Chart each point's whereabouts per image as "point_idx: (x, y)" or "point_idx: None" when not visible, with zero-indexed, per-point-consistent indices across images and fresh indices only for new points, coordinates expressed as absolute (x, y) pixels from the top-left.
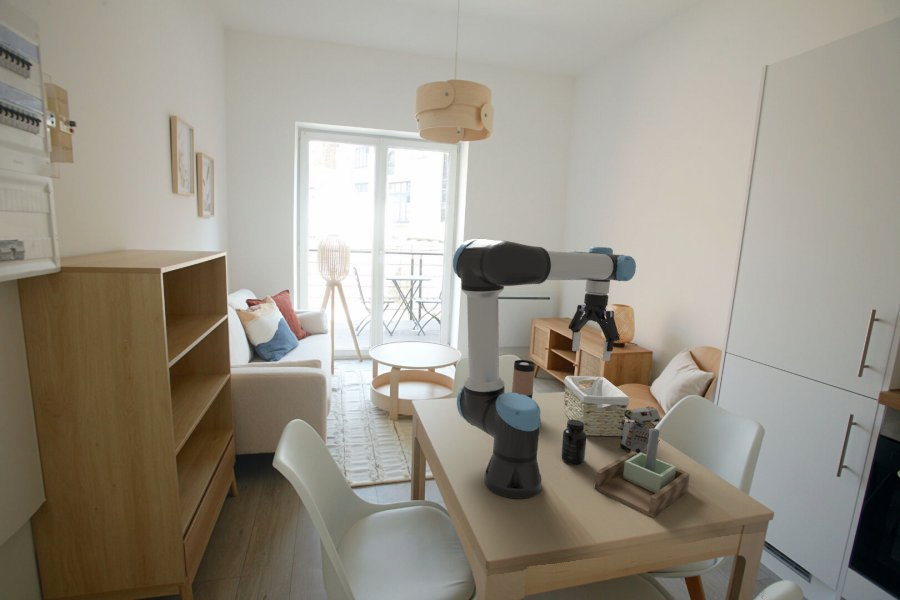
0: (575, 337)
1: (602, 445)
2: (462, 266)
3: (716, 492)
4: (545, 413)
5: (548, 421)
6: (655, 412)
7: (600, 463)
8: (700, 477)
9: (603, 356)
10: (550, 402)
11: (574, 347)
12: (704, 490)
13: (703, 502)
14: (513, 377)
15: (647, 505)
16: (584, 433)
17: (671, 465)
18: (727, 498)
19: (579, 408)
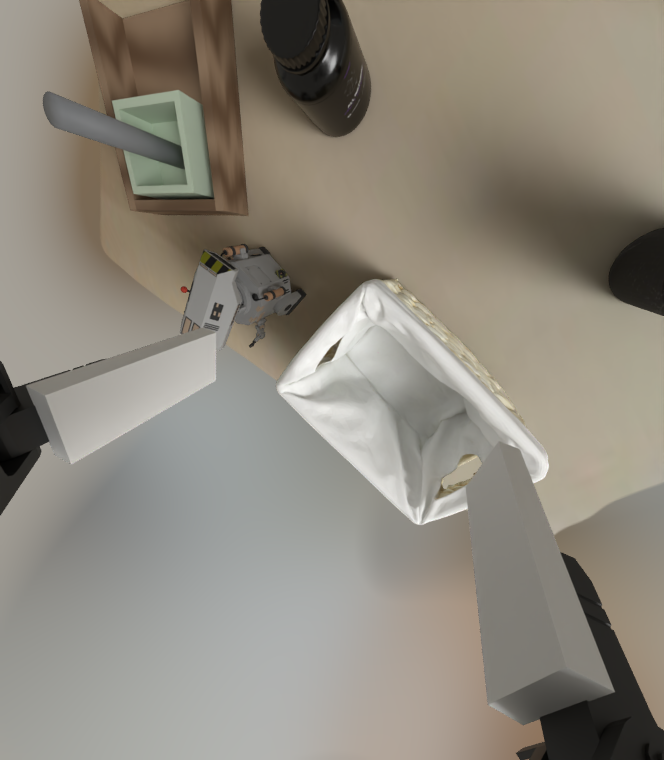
0: (531, 578)
1: (334, 268)
2: None
3: (147, 255)
4: (558, 346)
5: (521, 293)
6: (182, 323)
7: (291, 162)
8: (180, 289)
9: (186, 339)
10: (579, 438)
11: (502, 470)
12: (155, 245)
13: None
14: None
15: (137, 45)
16: (277, 63)
17: (138, 189)
18: (133, 249)
19: (411, 308)
